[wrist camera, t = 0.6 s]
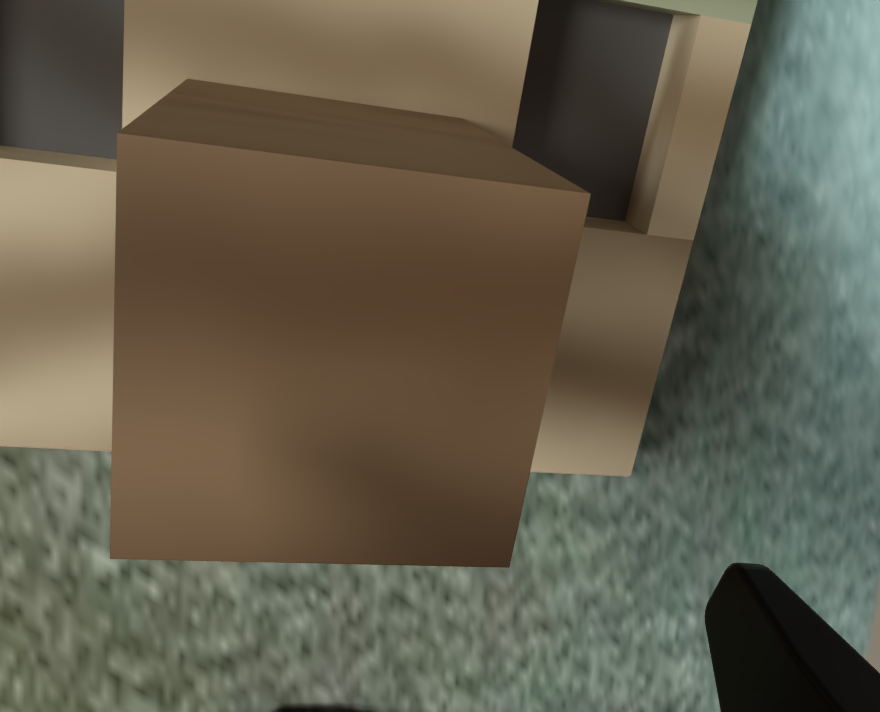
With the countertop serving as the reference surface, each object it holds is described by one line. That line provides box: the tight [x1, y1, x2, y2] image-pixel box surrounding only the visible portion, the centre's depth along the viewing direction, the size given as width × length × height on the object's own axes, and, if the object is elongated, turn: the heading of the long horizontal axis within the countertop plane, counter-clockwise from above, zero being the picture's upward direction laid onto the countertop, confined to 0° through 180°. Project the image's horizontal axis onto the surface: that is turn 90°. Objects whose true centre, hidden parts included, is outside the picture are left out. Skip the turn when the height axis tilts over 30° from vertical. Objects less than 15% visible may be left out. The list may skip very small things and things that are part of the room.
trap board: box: [0, 0, 758, 477], centre depth 22 cm, size 20×22×4 cm
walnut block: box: [110, 79, 591, 567], centre depth 18 cm, size 7×7×10 cm
